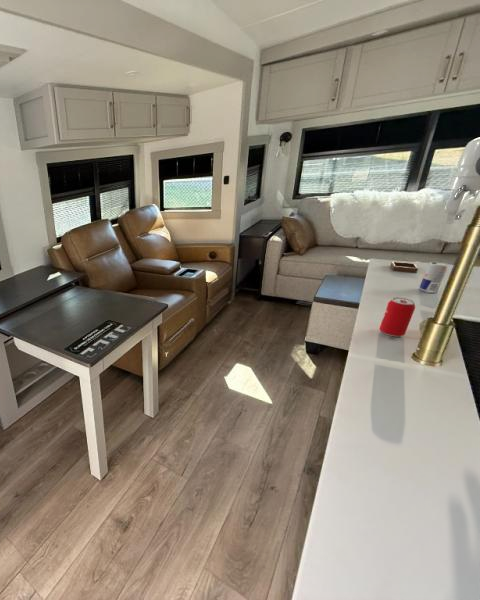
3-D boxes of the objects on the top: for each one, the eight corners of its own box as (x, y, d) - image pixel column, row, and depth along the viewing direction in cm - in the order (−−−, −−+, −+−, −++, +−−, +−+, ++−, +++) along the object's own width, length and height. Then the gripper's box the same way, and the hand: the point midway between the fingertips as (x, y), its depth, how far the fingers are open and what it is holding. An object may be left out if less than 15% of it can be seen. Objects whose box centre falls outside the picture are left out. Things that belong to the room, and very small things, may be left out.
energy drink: (419, 287, 134) (430, 260, 129) (437, 290, 130) (449, 262, 125) (417, 291, 131) (428, 263, 126) (436, 294, 127) (448, 266, 122)
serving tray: (413, 267, 153) (414, 263, 153) (416, 272, 147) (418, 268, 147) (390, 265, 158) (391, 261, 157) (392, 270, 152) (394, 266, 151)
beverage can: (401, 330, 106) (413, 298, 101) (406, 339, 101) (420, 306, 96) (376, 327, 109) (387, 295, 104) (380, 335, 104) (392, 303, 99)
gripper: (472, 187, 111) (456, 227, 116) (487, 181, 120) (472, 218, 125) (446, 187, 116) (432, 225, 121) (463, 181, 125) (449, 216, 130)
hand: (453, 221), depth 123 cm, fingers open, 8 cm apart
